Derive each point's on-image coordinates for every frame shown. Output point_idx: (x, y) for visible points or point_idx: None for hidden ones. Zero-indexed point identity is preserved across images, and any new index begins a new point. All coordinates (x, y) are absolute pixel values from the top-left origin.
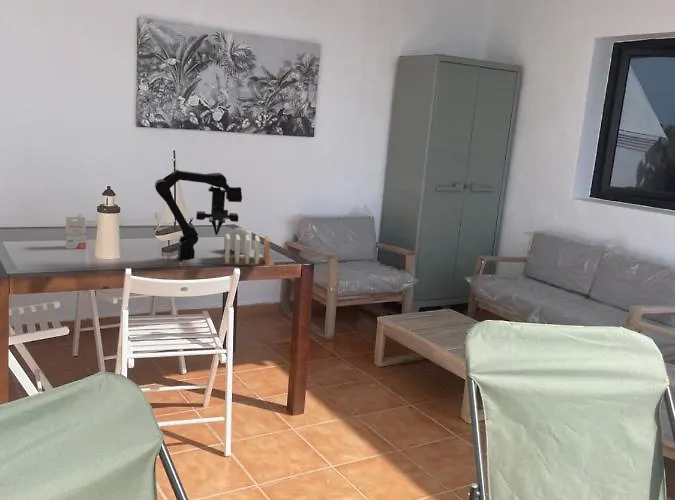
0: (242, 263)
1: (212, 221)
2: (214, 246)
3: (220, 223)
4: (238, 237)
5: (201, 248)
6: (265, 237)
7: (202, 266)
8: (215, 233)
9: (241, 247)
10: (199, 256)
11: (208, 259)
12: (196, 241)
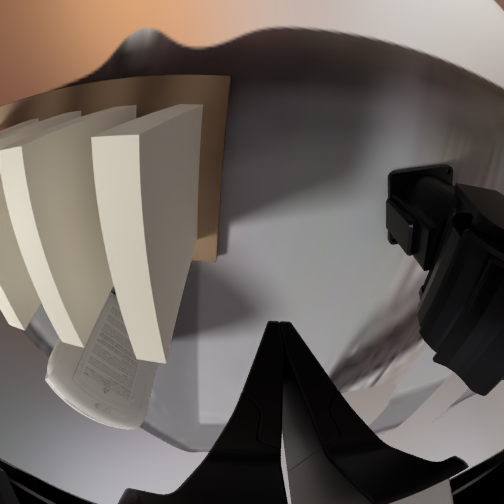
0: (96, 106)
1: (434, 480)
2: (234, 376)
3: (238, 479)
4: (30, 254)
5: None
6: None
7: (365, 64)
8: (294, 333)
9: (110, 322)
10: (334, 261)
11: (299, 209)
12: (459, 227)
